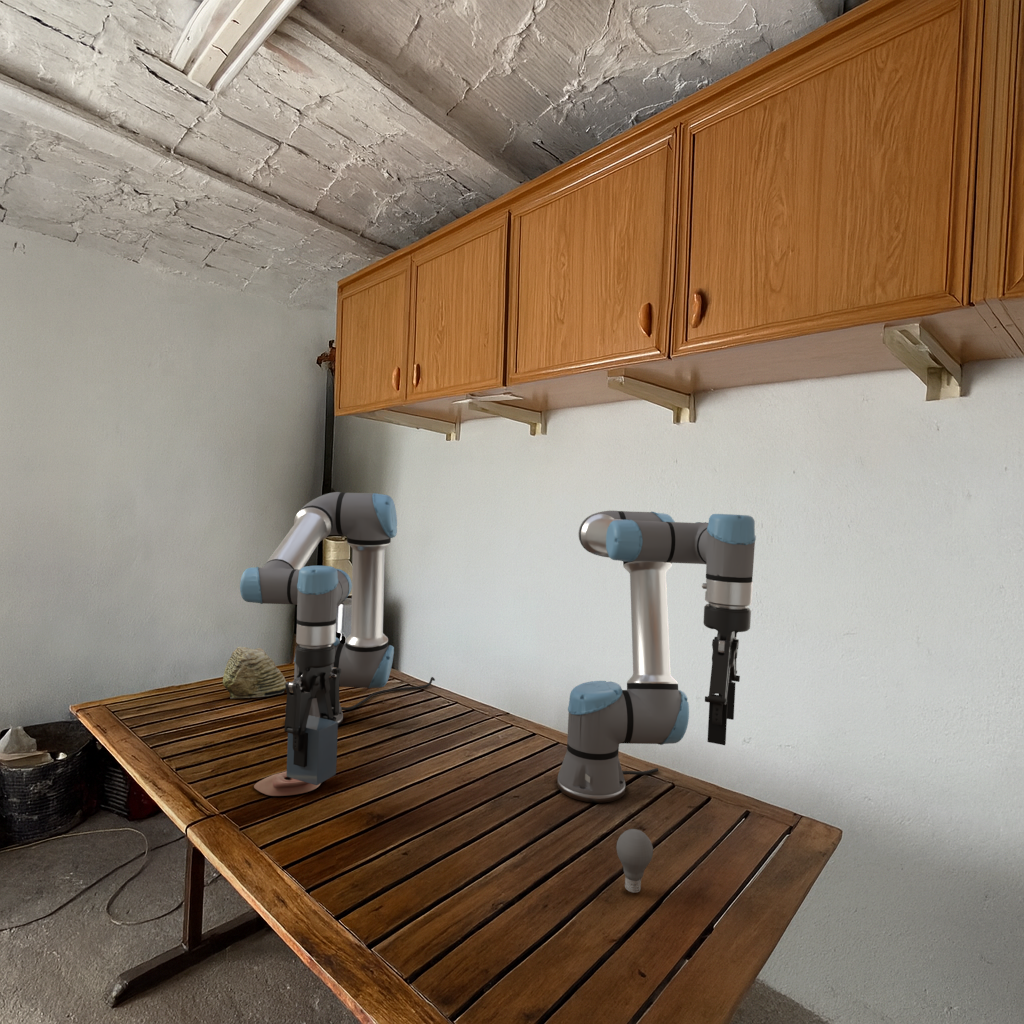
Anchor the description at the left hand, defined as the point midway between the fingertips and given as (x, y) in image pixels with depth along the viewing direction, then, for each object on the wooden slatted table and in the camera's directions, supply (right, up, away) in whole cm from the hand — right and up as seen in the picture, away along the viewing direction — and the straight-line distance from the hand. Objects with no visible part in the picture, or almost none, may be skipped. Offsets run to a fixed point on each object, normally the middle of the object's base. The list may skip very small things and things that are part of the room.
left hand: (311, 758), depth 127 cm
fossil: (-40, -8, +71) cm, 82 cm away
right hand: (+76, +12, -19) cm, 79 cm away
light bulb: (+60, -14, -21) cm, 65 cm away
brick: (0, -3, 0) cm, 3 cm away
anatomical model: (-9, -10, +11) cm, 18 cm away
